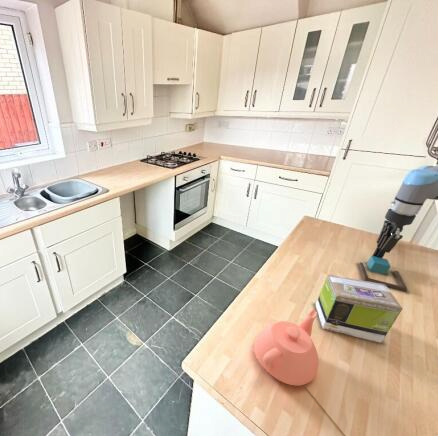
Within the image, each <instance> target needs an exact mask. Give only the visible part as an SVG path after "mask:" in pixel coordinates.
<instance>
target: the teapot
mask: <svg viewBox="0 0 438 436" xmlns="http://www.w3.org/2000/svg"><path fill="white" fill-rule="evenodd" d="M317 315H318V311H317V310H315V309H314V310H311V311H310V312H308V315H307V316H306V317H305V318H304V319H303V320H302V322H301V323H299V324H298V325H297V324H295V323H293V322H291V321H287V320H284V321H283V320H282V321H276V322H272V323H270V324H267V325H266V326H265V327H263V328H262V329H261V330H260V331H259V332H258V333H257V335H256V337H255V339H254V341H253V351H254V355H255V357H256V360H257V362H259V364H260V365H261V367H262V368H263V369H264V370H265V371H266V372H267V373H268V374H269V375H270V376H272V377H273V378H274V379H276V380H278V381H279V382H282V383H284V384H287V385H290V386H303V385H306V384H309V383H310V382H312V381H313V380H314V379H315V377H316V375H317V373H318V370H319V354H318V351H317V347H316V345H315V343H314V341H313V339H312V338H311V337H312V333H313V324H314V321H315V319H316V317H317Z"/></svg>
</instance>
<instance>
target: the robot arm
mask: <svg viewBox="0 0 438 436" xmlns="http://www.w3.org/2000/svg"><path fill="white" fill-rule="evenodd" d="M427 200H432V201H433V200H434V201H438V165H422V166H419V167H417V168H414V169H411V170H409V172H408V173H407V174H406V176H405V177H404V179H403V180H402V183H401V185H400V187H399V189H398V191H397V193H396V195H395V197H394V198H393V200H391V201H390V206H389V208H388V210H387V212H386V213H385V215H384V218H385V220H384V221H383V225H382V228H381V230H380V234H379V235H378V238H377V240H376V248H375V250H374V252H373V253H372V255H371V256H375V257H380V258H383V257H384V256H385V255H386V253H388V254H389V253H391V251H392V250H394V249H393V248H394V247H395V246H396V245H397V244H398V243H399V241H400V240H402V239H403V237H404V236H403V235H402V234H401V233H402V232H403V229H404V227H405V226H410V225H412V224H413V222H414V221H415V219H416V217H417V216H416V215H418V214H419V213H420V211H421V210H422V208H423V206H424V204H425V202H426V201H427Z"/></svg>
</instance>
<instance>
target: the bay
mask: <svg viewBox="0 0 438 436" xmlns="http://www.w3.org/2000/svg"><path fill="white" fill-rule="evenodd" d="M358 267H359V270H360V273H361V276H362V279H363V281H369V282H374V283H380V284H385V285H386V286H387V288H388V289H393V290H397V291H401V292H405V293H406V292H407V291H408V287H407V285H406V283H405V282H404V279H403V277H402V276H401V274H400V272H399V270H394V271H393V275H394V277H395V279H396V281H397V283H398V284H394V283H390V282H386V281H382V280H378V279H375V278H372V277H371V278H370V277H368V276H369V275H368V274H367V270H366V268H365V266H364V263H363V262H361V261H360V262H359V263H358Z"/></svg>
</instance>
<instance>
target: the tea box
mask: <svg viewBox="0 0 438 436" xmlns="http://www.w3.org/2000/svg"><path fill="white" fill-rule="evenodd" d="M315 308H316V312H317V315H318V317H319V322H320V324H321V327H322V329H323V330H328V331H331V332H335V333H339V334H344V335H348V336H352V337H354V338H355V337H356V338H359V339H364V340H368V341H372V342H376V343H383V341H384V339H386V337H387V334H388V333H389V331H390V330H391V328H392V327H393V325H394V324H395V322H396V320H397V319H398V317H399V316H400V314H401V312H402V310H403V307H402V305H401V304H400V302H398V300H397V298H396V297H395V296H394V295H393V293H392V291H391V290H390V288H389V287H387V286H386V285H385V284H380V283H374V282H369V281H364V279H363V280H362V279H357V278H350V277H346V276H345V277H344V276H339V275H333V274H327V276H326V279H325V280H324V283H323V286H322V288H321V291H320V293H319V295H318V298H317V301H316V303H315Z"/></svg>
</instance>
